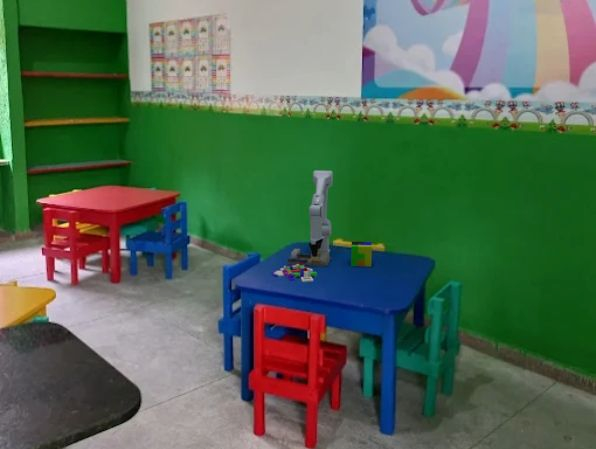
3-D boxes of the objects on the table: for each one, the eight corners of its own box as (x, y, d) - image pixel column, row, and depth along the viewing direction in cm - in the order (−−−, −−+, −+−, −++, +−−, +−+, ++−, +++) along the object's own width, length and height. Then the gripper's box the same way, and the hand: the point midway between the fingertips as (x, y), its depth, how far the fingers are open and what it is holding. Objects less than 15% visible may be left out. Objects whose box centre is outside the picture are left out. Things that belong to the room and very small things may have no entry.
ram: (294, 255, 319) (294, 248, 319) (300, 256, 319) (300, 248, 318) (291, 260, 312) (291, 252, 311) (296, 260, 311) (296, 253, 310)
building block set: (269, 268, 306) (269, 259, 305) (310, 266, 309) (310, 257, 308) (275, 284, 282) (275, 275, 281) (319, 281, 285) (319, 272, 284)
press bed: (292, 257, 322) (292, 247, 321) (330, 259, 318) (330, 249, 316) (287, 264, 311) (287, 253, 309) (326, 266, 306) (326, 256, 305)
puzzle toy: (370, 260, 317) (371, 241, 315) (371, 266, 307) (371, 247, 305) (351, 260, 318) (351, 241, 315) (351, 265, 308) (351, 246, 306)
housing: (312, 258, 316) (312, 248, 314) (321, 258, 315) (321, 248, 314) (311, 260, 311) (311, 250, 310) (320, 261, 310) (320, 251, 309)
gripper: (321, 232, 302) (321, 258, 305) (326, 225, 315) (326, 251, 318) (307, 231, 303) (307, 258, 306) (313, 224, 317) (312, 250, 320)
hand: (316, 254), depth 312 cm, fingers open, 7 cm apart
